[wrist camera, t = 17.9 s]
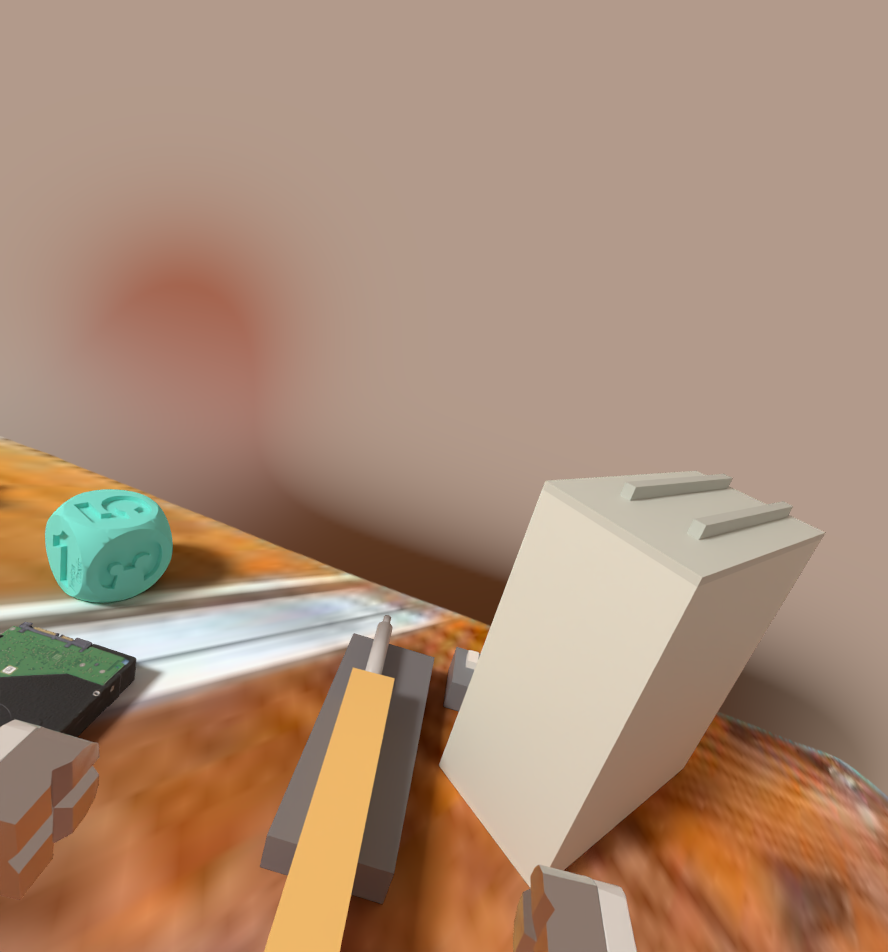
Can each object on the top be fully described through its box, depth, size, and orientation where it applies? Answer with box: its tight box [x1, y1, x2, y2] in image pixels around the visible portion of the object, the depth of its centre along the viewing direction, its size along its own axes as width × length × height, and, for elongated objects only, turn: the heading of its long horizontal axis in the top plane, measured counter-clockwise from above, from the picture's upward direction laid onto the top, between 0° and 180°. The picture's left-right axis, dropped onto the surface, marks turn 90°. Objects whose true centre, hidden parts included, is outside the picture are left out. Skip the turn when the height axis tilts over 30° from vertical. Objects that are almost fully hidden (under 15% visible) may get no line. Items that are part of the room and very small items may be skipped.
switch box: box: [443, 647, 480, 711], centre depth 52 cm, size 8×5×4 cm, turn 84°
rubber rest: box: [260, 633, 434, 904], centre depth 42 cm, size 8×20×3 cm, turn 174°
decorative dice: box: [45, 489, 173, 603], centre depth 52 cm, size 8×8×8 cm
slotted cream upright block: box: [439, 471, 825, 888], centre depth 43 cm, size 22×11×27 cm, turn 129°
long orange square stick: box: [264, 615, 395, 952], centre depth 38 cm, size 30×3×3 cm, turn 177°
